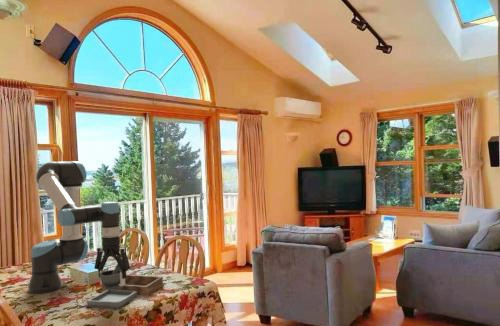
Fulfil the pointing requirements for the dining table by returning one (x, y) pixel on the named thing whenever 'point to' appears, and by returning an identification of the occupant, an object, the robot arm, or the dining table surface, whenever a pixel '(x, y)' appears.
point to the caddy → (150, 281)
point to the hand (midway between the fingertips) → (112, 284)
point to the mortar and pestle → (111, 278)
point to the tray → (112, 299)
